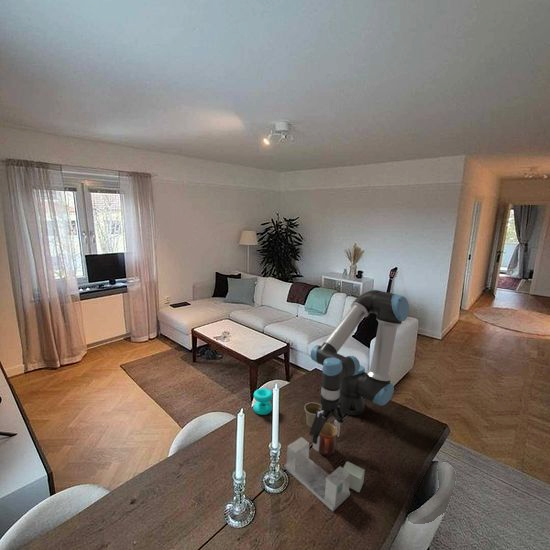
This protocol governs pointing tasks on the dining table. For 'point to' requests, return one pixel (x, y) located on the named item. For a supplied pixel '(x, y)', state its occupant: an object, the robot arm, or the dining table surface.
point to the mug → (327, 439)
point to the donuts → (263, 401)
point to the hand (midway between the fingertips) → (326, 441)
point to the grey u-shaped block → (317, 475)
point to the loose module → (355, 476)
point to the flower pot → (311, 412)
